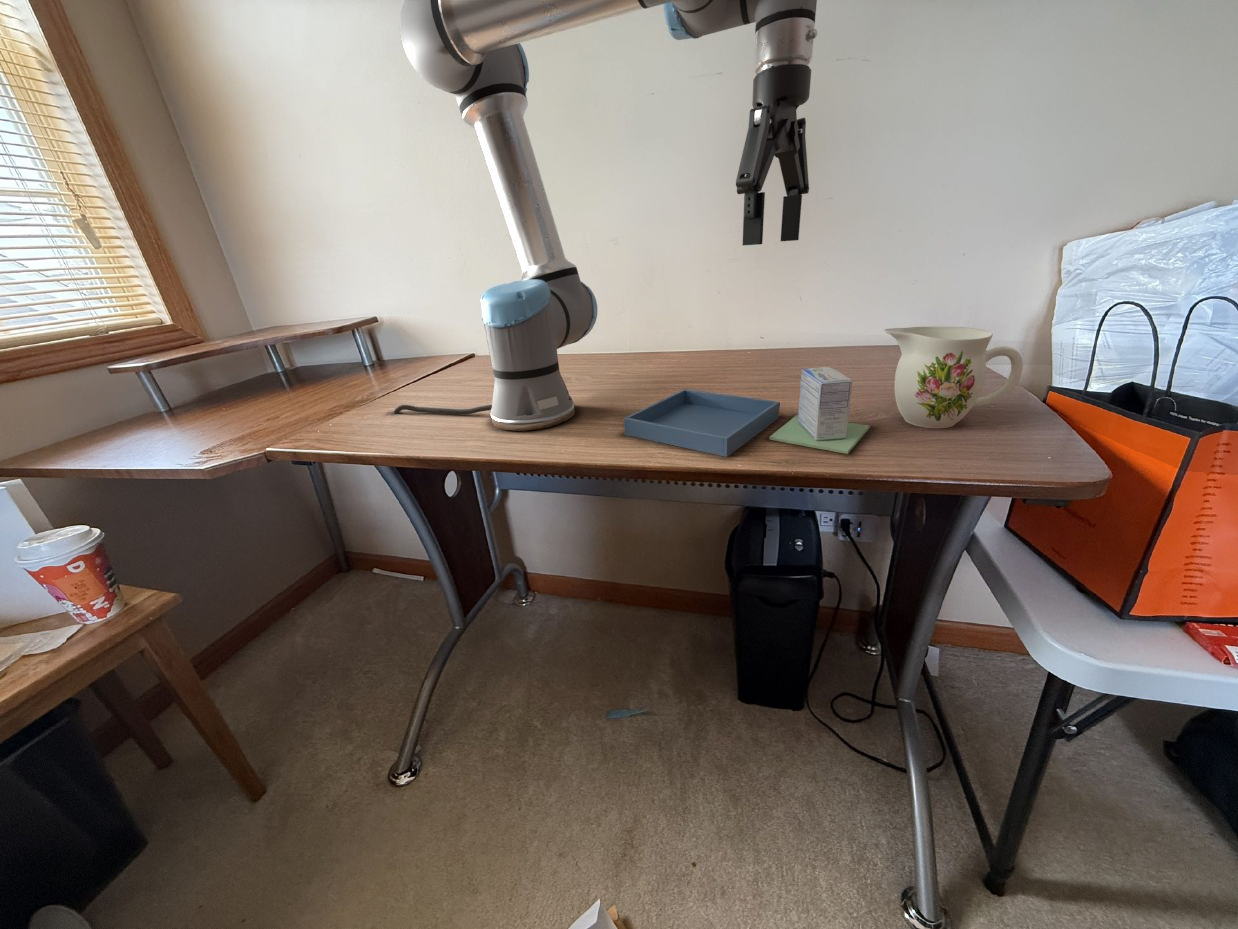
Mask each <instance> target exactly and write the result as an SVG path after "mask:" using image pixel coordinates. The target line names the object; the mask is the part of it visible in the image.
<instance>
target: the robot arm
mask: <svg viewBox="0 0 1238 929" xmlns="http://www.w3.org/2000/svg"><path fill="white" fill-rule="evenodd" d="M817 3H818V0H404V2H402V6H401V9H400V15H399V34H400V35H399V36H400V40H401V43H402V47H403V50H404V52H405V55H406V58H407V59H408V61H409V63H410V64H411V66H412V68H413V69H414V70H415V72H416V73H417V74H418V75H419V76H420V77H421V79H422V80H424V81H425V82H427V83H428V84H429V85H431V86H433V87H434V88H436V89H438V90H442V91H444V92H446V93H449V94H452V95H454V98H455V100H456V103H457V106H458V109H459V111H460V115H461V118H462V121H463V122H464V124H465V125H467V126H468V127H470V128H472V129H473V130H474V131H475V132H476V135H477V138H478V141H479V144H480V147H481V150H482V153H483V157H484V159H485V162H486V166H487V168H488V169H487V170H488V171H489V174H490V177H491V181H492V183H493V184H492V185H493V186H494V189H495V190H494V191H495V193H496V196H497V199H498V201H499V205H500V208H501V211H502V214H503V217H504V220H505V223H506V226H507V229H508V232H509V235H510V238H511V241H512V245H513V248H514V250H515V254H516V256H517V259H518V262H519V266H520V268H521V275H520V277H519V280H515V281H510V282H508V283H502V284H498V285H495V286H492V287H489V288H488V289H486V290H485V291H484V292H483V293H482V295H481V297H480V306H481V307H480V308H481V320H482V323H483V326H484V327H483V328H484V331H485V336H486V342H487V346H488V353H489V358H490V363H491V368H492V374H493V378H494V387H493V393H492V401H491V404H487V405H481V406H477V407H471V408H463V409H462V408H460V409H459V408H445V407H444V408H443V407H430V406H429V407H427V406H415V405H411V404H410V405H409V404H401V405H398V406H397V407H395V409H393V411H392V414H393V415H397V414H399V413H400V412H401V411H411V412H415V413H416V412H417V413H432V414H445V415H447V414H448V415H471V414H477V413H480V412H486V411H490V418H491V423H492V426H494V427H495V428H498V429H501V430H505V431H515V432H519V431H521V432H522V431H533V430H540V429H546V428H551V427H553V426H557V425H559V424H562V423H565V422H567V421H569V419H571V418H572V417H573V416H575V413H576V410H575V403H574V400H573V398H572V396H571V395H570V393H569V389H568V387H567V386H566V382H565V381H564V378H563V376H562V374H561V372H560V371H561V370H560V364H559V357H558V350H559V349H561V348H564V347H566V346H568V345H572V344H576V343H577V342H580V340H582V339H583V338H585V337H586V336H587V335H589V334H590V332H591V331H592V330H593V329H594V326H595V324H596V322H597V318H598V302H597V298H596V296H595V294H594V291H592V289H591V287H589V286H588V285H586V284H585V283H584V282H583V281H581V277H580V274H579V271H578V268H577V265H576V264H574V263H572V262H571V261H569V260H568V259H567V258H566V255H565V252H564V249H563V245H562V242H561V239H560V235H559V232H558V229H557V226H556V222H555V219H554V215H553V212H552V209H551V205H550V202H549V199H548V195H547V191H546V188H545V186H544V182H543V179H542V176H541V172H540V169H539V165H538V162H537V159H536V156H535V151H534V149H533V145H532V142H531V138H530V135H529V132H528V129H527V125H526V122H525V118H524V115H525V113H526V111H527V108H528V106H529V101H528V98H527V91H528V88H527V85H528V84H529V82H530V81H529V80H530V69H529V62H528V59H527V55H526V53H525V51H524V48H523V46H522V43H525V42H528V41H532V40H536V39H539V38H542V37H546V36H549V35H554V34H557V33H561V32H565V31H568V30H572V29H576V28H578V27H582V26H583V27H584V26H586V25H590V24H594V23H597V22H600V21H604V20H608V19H612V18H615V17H619V16H622V15H625V14H629V13H632V12H636V11H640V10H644V9H645V10H646V9H651V8H655V7H657V6H661V5H663V13H664V19H665V24H666V25H667V28H668V32H669V34H670V37H672V39H674V40H676V41H683V40H688V39H694V40H696V39H699V38H702V37H703V36H708V35H711V34H716V33H718V32H719V33H720V32H722V31H723V32H724V31H726V30H727V31H728V30H731V29H734V28H737V27H742V26H746V25H750V24H753V23H755V27H754V28H755V29H754V50H753V51H754V52H753V68H752V69H753V72H754V73H755V74H756V75H755V76H754V78H753V79H752V103H751V104H752V108H751V109H750V110H749V116H748V128H747V132H746V137H745V141H744V145H743V150H742V153H741V158H740V163H739V166H738V170H737V175H736V180H735V186H736V193H737V195H743V194H744V195H743V217H742V218H743V222H742V246H756V245H757V246H758V245H763V238H764V220H765V219H764V218H765V202H766V201H765V200H766V196H765V195H766V192H765V191H762V190H763V187H764V184H765V181H766V179H767V176H768V173H769V171H770V168H771V166H772V163H773V161H774V157H775V158H777V159H778V162H779V167H780V171H781V176H782V180H783V185H784V190H785V194H786V195H785V196H782V198H783V199H782V211H781V212H782V213H781V227H780V228H781V229H780V242H792V241H793V242H794V241H799V238H800V225H801V215H802V200H803V195H806V194H809V192H810V183H809V182H810V181H809V180H810V179H809V170H808V168H809V167H808V154H807V142H806V141H807V139H806V126H807V119H806V117H801V118H798V114H797V113H798V112H797V111H798V110H797V109H798V108H799V107H800V106H803V105H804V104H806V103H807V102H808V101H809V99H810V92H811V80H812V69H811V67H810V66H809V65H810V63H811V62H812V61H813V51H814V50H813V49H814V40H815V39H816V38H817V37H818V30H817V28H815V25H816V16H817V15H816V14H817V5H818V4H817Z"/></svg>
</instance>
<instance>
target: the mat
mask: <svg viewBox="0 0 1238 929" xmlns="http://www.w3.org/2000/svg"><path fill="white" fill-rule="evenodd" d="M870 427H871V426H870V425H868V424H861V423H854V422H849V421H848V425H847V435H846V438H844V439H834V440H815V439H814V438H813V437H812V436H811V435H810V434H809V433H808V432H807V431H806V430H805V429H804V428H803V427H802V426H801V425H800V424H799V423H798V414H796V415H795V416H793V417H792V418H791V419H790V420H789V421H787V422H786V423H785V424H783V425H782V426H781V427H779V428H778V429H777V430H776V431H774V432H773V433H772V434H771V435H770V436H769V437H768V438H769V439H768V440H769V441H775V442H780V443H786V444H789V445H790V444H791V445H795V446H802V447H808V448H812V449H818V450H823V451H830V452H834V453H840V454H845V455H848V454H849V453H850V452H851V451H852V450H853V448H855V446H856V445H857V444H858V443H859V441H860V440H861V439H862V438H863V437H864V436H865V435H866V433H867V432H868V431H869V430H870Z"/></svg>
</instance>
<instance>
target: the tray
mask: <svg viewBox="0 0 1238 929" xmlns="http://www.w3.org/2000/svg"><path fill="white" fill-rule="evenodd" d="M780 406H781V401H777V400H770V399H761V398H755V397H748V396H739V395H733V394H732V395H731V394H724V393H717V392H710V391H702V390H695V389H686V388H683V389H681V390H679V391H677V392H675V393H673V394H671V395H669V396H666V397H665V398H663V399H661V400H658V401H657V402H655V403H652V404H650V405H649V406H646V407H644V408H642V409H640V410H638V411H635V412H634V413H631V414H630V415H628V416H625V417H623V428H624V436H628V437H632V438H638V439H643V440H646V441H651V442H657V443H661V444H665V445H669V446H675V447H680V448H683V449H688V450H693V451H698V452H702V453H706V454H711V455H716V456H721V457H725V458H728V457H729V456H731V455H732V454H733V453H735V452H736V451H738V449H740V448H741V447H742V446H744V445H745V444H746V443H748V442H749V441H751V440H752V439H753V438H754V437H756V436H757V435H759V433H761V432H763V431H764V430H765V429H766V428H767V427H769V426H770V425H772V424H773V423H775V422H776V421H777V420H778V419H779V418H780Z"/></svg>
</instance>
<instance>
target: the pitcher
mask: <svg viewBox="0 0 1238 929" xmlns="http://www.w3.org/2000/svg"><path fill="white" fill-rule="evenodd" d="M884 332H885V333H886V334H887V335H889V336H891V337H892V338H893V339H894V340H896V343H897V344H898V346H899V349H900V352H901V355H900V357H899V360H898V362H897V365H896V370H895V375H894V397H895V402H896V406H897V409H898V412H899V413H900V415H901V416H902V418H903V420H904V421H905V422H906V423H908V424H909V425H913V426H916V427H918V428H919V427H920V428H925V429H948V428H952V427H954V426H955V425H956V424H958V423H959V422H960V421H961V420H963V418H965V417H966V415H967V414H968V413H969V412H970V411H971V409H976V408H981V407H986V406H989V405H992V404H995V403H997V402H1000V401H1001V400H1002V399H1004V398H1006V397H1007V396H1008V395H1009V394H1010V393H1012V391H1013V390H1015V388H1016V387H1017V386H1018V383H1019V381H1020V380H1021V376H1022V373H1023V369H1024V361H1023V358H1022V355H1021V353H1020V352H1019V351H1018V350H1017V349H1016V348H1014V347H1010V346H997V347H993V348H990V349H987V348H988V346H989V344H990V342H991V340H992V338H993V333H992V332H991V331H989V330H986V329H980V328H975V327H964V326H909V327H894V328H885V329H884ZM997 357H1007V358H1008V359H1009V362H1010V366H1011V367H1010V369H1011V370H1010V372H1009V375H1008V378H1007V380H1006V381H1005V383H1004V384H1003V385H1002V386H1001V387H1000V388H998V389H997V390H995V391H994V392H991V393H989V394H987V395H984V396H980V394H981V392H982V389H983V386H984V384H985V379H986V375H987V363H988V362H989V361H990V360H992V359H995V358H997ZM979 396H980V397H979Z"/></svg>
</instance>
